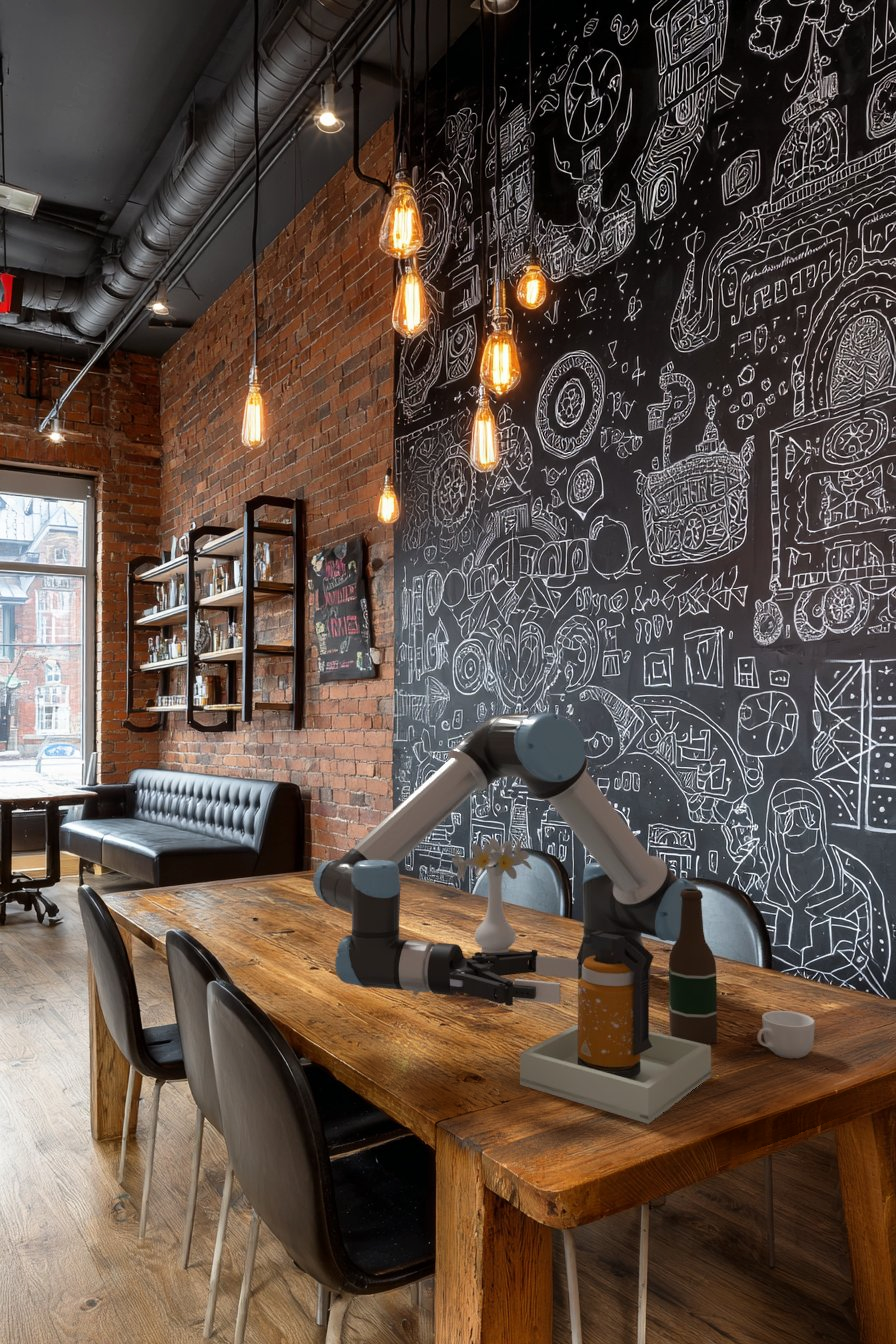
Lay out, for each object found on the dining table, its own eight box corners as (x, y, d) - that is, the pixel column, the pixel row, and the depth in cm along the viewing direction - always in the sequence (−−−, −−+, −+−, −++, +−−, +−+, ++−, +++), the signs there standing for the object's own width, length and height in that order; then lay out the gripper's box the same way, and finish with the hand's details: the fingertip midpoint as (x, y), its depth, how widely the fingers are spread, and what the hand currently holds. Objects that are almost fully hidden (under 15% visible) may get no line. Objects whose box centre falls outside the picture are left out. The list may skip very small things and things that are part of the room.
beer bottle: (684, 1048, 145) (682, 895, 146) (659, 1032, 152) (658, 886, 153) (727, 1043, 147) (725, 892, 148) (701, 1028, 154) (699, 884, 156)
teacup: (789, 1042, 148) (789, 1008, 148) (826, 1058, 141) (826, 1022, 141) (741, 1051, 144) (740, 1016, 144) (776, 1068, 137) (776, 1031, 137)
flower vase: (443, 950, 206) (444, 838, 208) (514, 941, 214) (514, 834, 216) (470, 963, 195) (470, 845, 196) (543, 954, 203) (543, 840, 204)
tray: (591, 1046, 146) (590, 1017, 146) (711, 1077, 133) (710, 1045, 133) (519, 1084, 130) (519, 1052, 130) (648, 1123, 117) (648, 1088, 118)
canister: (598, 1056, 138) (598, 922, 139) (664, 1075, 131) (664, 934, 132) (565, 1073, 131) (566, 932, 133) (634, 1094, 124) (634, 945, 125)
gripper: (458, 971, 153) (584, 983, 146) (403, 1017, 129) (551, 1033, 122) (458, 926, 153) (584, 935, 146) (404, 963, 129) (551, 977, 123)
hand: (569, 980), depth 134 cm, fingers open, 13 cm apart
